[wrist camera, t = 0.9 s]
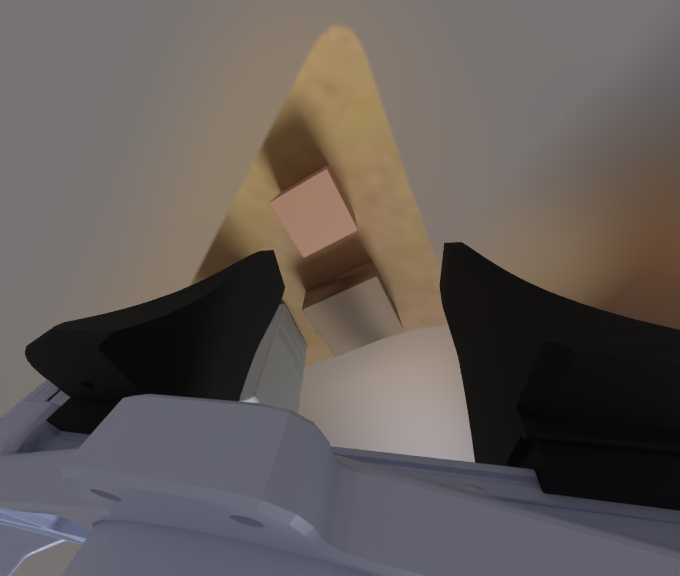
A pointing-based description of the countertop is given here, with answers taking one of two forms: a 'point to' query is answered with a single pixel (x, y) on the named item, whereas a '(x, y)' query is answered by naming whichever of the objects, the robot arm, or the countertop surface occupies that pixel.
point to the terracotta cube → (315, 211)
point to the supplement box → (277, 365)
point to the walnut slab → (352, 309)
